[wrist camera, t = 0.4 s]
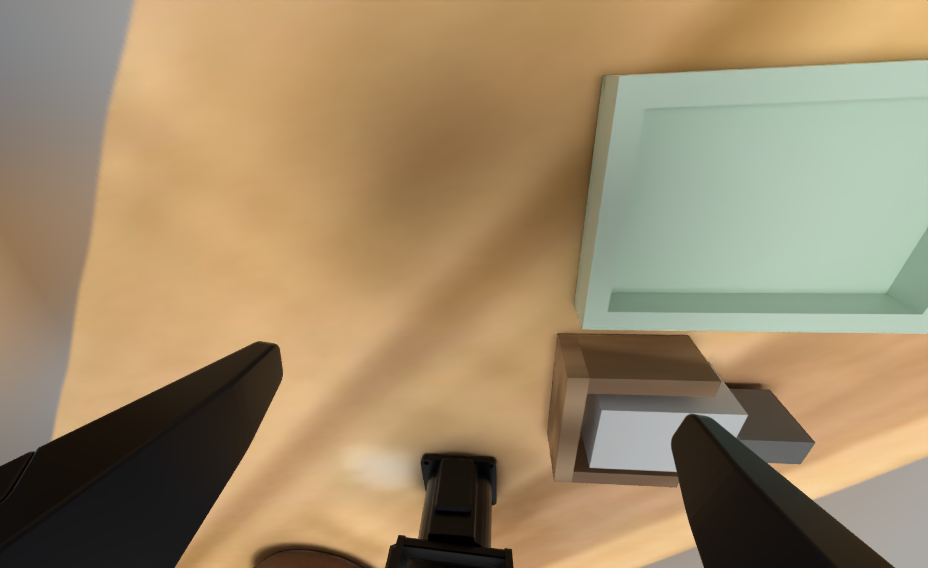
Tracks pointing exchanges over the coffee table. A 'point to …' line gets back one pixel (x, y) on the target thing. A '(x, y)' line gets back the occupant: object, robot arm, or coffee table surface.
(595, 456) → the grey stepped block
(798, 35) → the coffee table surface
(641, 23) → the coffee table surface
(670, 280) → the tray
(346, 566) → the plant saucer
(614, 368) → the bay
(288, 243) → the coffee table surface
